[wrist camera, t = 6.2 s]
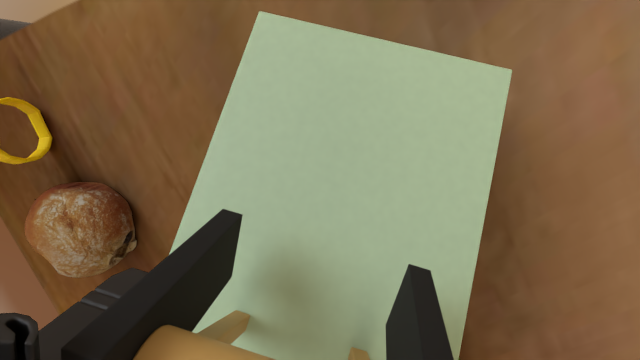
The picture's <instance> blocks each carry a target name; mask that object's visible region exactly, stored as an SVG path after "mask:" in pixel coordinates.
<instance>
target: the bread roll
mask: <svg viewBox="0 0 640 360" xmlns="http://www.w3.org/2000/svg"><path fill="white" fill-rule="evenodd" d="M25 237H26V239H27V241H29V243H30V245H31V246H32V248H33V250H34V251H35V252H36V253H38V254H40V255H43V256H44V258H45V259H46V260H47V261H48V262H49V263H50V264H51V265H52V266H53V267H54V268H55V270H56V271H57V272H58V273H59V274H62V275H65V276H68V277H75V278H84V277H90V276H94V275H97V274H101V273H104V272H105V271H107V270H108V269H110V268H112V267H113V266H115V265H116V264H117V263H118V262H120V261H121V260H122V259H123V258H124V257H126V254H127V253H128V252H130V251H132V250H133V249H134V248H135V247H136V242H137V241H136V240H135V227H134V223H133V219H132V211H131V209H130V207H129V204H128V202H127V201H126V200H125V199H124V198H123V197H122V196H121V195H120V194H119V193H118V192H116V191H115V190H113V189H112V188H111V187H109V186H107V185H105V184H103V183H96V182H93V183H91V182H72V183H67V184H60V185H57V186H55V187H52V188H50V189H48V190H47V191H45V192H44V193H42V194H41V195H40V196H39V197H38V198H37V199H35V202H34V203H33V205H32V206H31V208H30V210H29V212H28V216H27V219H26V222H25Z"/></svg>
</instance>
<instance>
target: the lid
mask: <svg viewBox="0 0 640 360" xmlns="http://www.w3.org/2000/svg"><path fill="white" fill-rule="evenodd" d="M511 74H512V70H510V69H506V68H502V67H498V66H493V65H489V64H485V63H480V62H476V61H472V60H468V59H463V58H459V57H455V56H450V55H446V54H442V53H437V52H433V51H429V50H425V49H420V48H416V47H412V46H407V45H403V44H399V43H395V42H390V41H386V40H382V39H377V38H373V37H369V36H365V35H360V34H356V33H352V32H347V31H343V30H339V29H335V28H330V27H326V26H322V25H317V24H313V23H309V22H304V21H300V20H296V19H292V18H287V17H283V16H279V15H274V14H270V13H266V12H262V11H259V14H258V16H257V19H256V22H255V24H254V27H253V30H252V32H251V35H250V38H249V41H248V43H247V46H246V49H245V51H244V54H243V57H242V59H241V62H240V65H239V67H238V70H237V73H236V76H235V78H234V81H233V84H232V86H231V89H230V92H229V94H228V97H227V100H226V103H225V105H224V108H223V111H222V113H221V116H220V119H219V121H218V124H217V127H216V129H215V132H214V135H213V138H212V140H211V143H210V146H209V148H208V151H207V154H206V156H205V159H204V162H203V165H202V167H201V170H200V173H199V175H198V178H197V181H196V183H195V186H194V189H193V191H192V194H191V197H190V200H189V202H188V205H187V208H186V210H185V213H184V216H183V218H182V221H181V224H180V227H179V229H178V232H177V235H176V237H175V240H174V243H173V245H172V248H171V251H170V254H171V253H172V252H173V251H174V250H176V249H177V248H178V247H179V246H180V245H181V244H183V243H184V242H185V241H186V240H187V239H188V238H190V237H191V236H192V235H193V234H194V233H195V232H196V231H198V230H199V229H200V228H201V227H202V226H203V225H205V224H206V223H207V222H208V221H209V220H210V219H212V218H213V217H214V216H215V215H216V214H217V213H219V212H220V211H221V210H222V209H226V210H229V211H232V212H236V213H239V214H242V215H243V216H242V221H241V227H240V233H239V238H238V244H237V250H236V256H235V261H234V267H233V273H232V277H231V279H230V280H229V282H228V283H227V284H226V286H225V287H224V288H223V290H222V291H221V293H220V294H219V295H218V297H217V298H216V299H215V301H214V302H213V304H212V305H211V306H210V308H209V309H208V310H207V312H206V313H205V315H204V316H203V317H202V319H201V320H200V321H199V323H198V324H197V326H196V327H195V328H194V330H193V331H192V332H190V331H187V330H184V329H181V328H178V327H175V326H172V325H163V326H161V327H159V328H158V329H156V330H155V331H154V332H153V333H152V334H151V335H150V336H149V337H148V338H147V340H146V341H145V342H144V343H143V345H142V346H141V347H140V349H139V350H138V352H137V354H136V355H135V357H134V358H133V360H386V323H387V320H388V317H389V315H390V312H391V309H392V307H393V304H394V302H395V299H396V296H397V294H398V291H399V288H400V286H401V283H402V280H403V278H404V275H405V272H406V270H407V267H408V265H409V264H411V265H414V266H418V267H421V268H425V269H428V270H431V274H432V278H433V282H434V285H435V289H436V293H437V297H438V301H439V305H440V308H441V312H442V316H443V320H444V324H445V328H446V331H447V335H448V339H449V343H450V347H451V351H452V354H453V358H454V360H458V358H459V353H460V348H461V342H462V337H463V332H464V326H465V321H466V316H467V310H468V305H469V299H470V294H471V289H472V283H473V278H474V273H475V267H476V262H477V257H478V251H479V246H480V241H481V235H482V230H483V224H484V219H485V214H486V208H487V203H488V198H489V192H490V187H491V182H492V176H493V171H494V166H495V160H496V155H497V149H498V144H499V139H500V133H501V128H502V123H503V117H504V112H505V107H506V101H507V96H508V91H509V85H510V80H511ZM170 254H169V255H170Z"/></svg>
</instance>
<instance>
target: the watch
mask: <svg viewBox="0 0 640 360" xmlns="http://www.w3.org/2000/svg"><path fill="white" fill-rule="evenodd" d="M0 104H5V105H10V106H15V107H16V108H18V109H20V110H21V111H23V112H24V113H26V114H27V115H28V117H29V119H30V121H31V123H32V125H33V127H34V129H35V131H36V133H37V135H38V137H39V142H38V146H37V150H35V151H34V152H33V153H32V154H31V155H30V156H29V157H27V158H20V157H15V156H10V155H9V154H7V153H6V152H4V151H3V150H1V149H0V162H6V163H11V164H21V163H26V162H30V161H34V160H38V159H40V158H42V157H43V156H44V155H45V154H46V153H47V152H48V151H49V149H50V147H51V142H52V136H51V134H50V132H49V130H48V128H47V126H46V124H45V122H44V119H43V117H42V115H41V113H40V111H39V109H37V108H36V107H34V106H33V105H31V104H30V103H28V102H27V101H24V100H20V99H16V98H11V97H6V98H1V99H0Z"/></svg>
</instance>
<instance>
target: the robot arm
mask: <svg viewBox="0 0 640 360" xmlns="http://www.w3.org/2000/svg"><path fill="white" fill-rule="evenodd" d="M242 216H243V215H242V214H239V213H236V212H232V211H229V210H226V209H222V210H221V211H220V212H219V213H217V214H216V215H215V216H214V217H213V218H212V219H210V220H209V221H208V222H207V223H206V224H205V225H203V226H202V227H201V228H200V229H199V230H198V231H196V232H195V233H194V234H193V235H192V236H191V237H190V238H188V239H187V240H186V241H185V242H184V243H183V244H181V245H180V246H179V247H178V248H177V249H176V250H174V251H173V252H172V253H171V254H170V255H169V256H167V257H166V258H165V259H164V260H163V261H162V262H161V263H159V264H158V265H157V266H156V267H155V268H154V269H152V270H151V271H150V272H149V273H148V272H145V271H141V270H138V269H135V268H130V269H128V270H125V271H123V272H120V273H118V274H115V275H113V276H111V277H110V278H108V279H107V280H106V281H104V282H103V283H102V284H101V285H99V286H98V287H97V288H96V289H95V291H91V292H90V293H89V294H87V295H86V296H85V297H83V298H82V300H81V301H80V302H77V303H75V304H74V305H73V306H71V307H70V308H69V309H67V310H66V311H65V312H63V313H62V314H61V315H59V316H58V317H57V318H56V319H54V320H53V321H52V322H50V323H49V324H48V325H46V326H45V327H44V328H42V329H41V330H40V331H38V325H37V322H36V321H35V320H33V319H32V318H31V317H30V316H27V315H22V314H18V313H1V314H0V360H133V358H134V357H135V355H136V354H137V352H138V350H139V349H140V347H141V346H142V345H143V343H144V342H145V341H146V340H147V338H148V337H149V336H150V335H151V334H152V333H153V332H154V331H155V330H156V329H158V328H159V327H161V326H163V325H172V326H175V327H178V328H181V329H184V330H187V331H190V332H192V331H193V330H194V328H195V327H196V326H197V324H198V323H199V321H200V320H201V319H202V317H203V316H204V315H205V313H206V312H207V310H208V309H209V308H210V306H211V305H212V304H213V302H214V301H215V299H216V298H217V297H218V295H219V294H220V293H221V291H222V290H223V288H224V287H225V286H226V284H227V283H228V282H229V280H230V279H231V277H232V273H233V267H234V261H235V256H236V250H237V244H238V238H239V233H240V227H241V221H242ZM386 360H454V358H453V354H452V351H451V347H450V343H449V339H448V335H447V331H446V328H445V324H444V320H443V316H442V312H441V308H440V305H439V301H438V297H437V293H436V289H435V285H434V282H433V278H432V274H431V270H428V269H425V268H421V267H418V266H414V265H411V264H409V265H408V267H407V270H406V272H405V275H404V278H403V280H402V283H401V286H400V288H399V291H398V294H397V296H396V299H395V302H394V304H393V307H392V309H391V312H390V315H389V317H388V320H387V323H386Z"/></svg>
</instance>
